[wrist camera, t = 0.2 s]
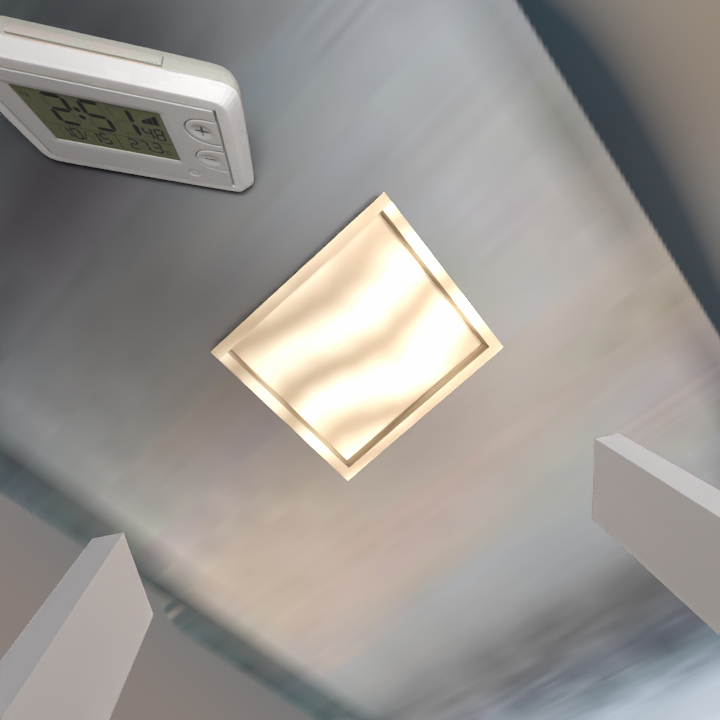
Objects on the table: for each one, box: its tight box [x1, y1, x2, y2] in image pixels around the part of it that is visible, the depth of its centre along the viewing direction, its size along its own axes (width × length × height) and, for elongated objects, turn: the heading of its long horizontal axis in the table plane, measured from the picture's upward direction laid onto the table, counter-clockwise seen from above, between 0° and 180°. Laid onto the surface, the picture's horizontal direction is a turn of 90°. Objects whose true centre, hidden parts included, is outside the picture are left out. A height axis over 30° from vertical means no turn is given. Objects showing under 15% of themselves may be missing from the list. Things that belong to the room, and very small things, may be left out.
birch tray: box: [211, 192, 503, 481], centre depth 37 cm, size 18×20×2 cm
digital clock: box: [0, 15, 254, 192], centre depth 26 cm, size 16×9×11 cm, turn 71°
